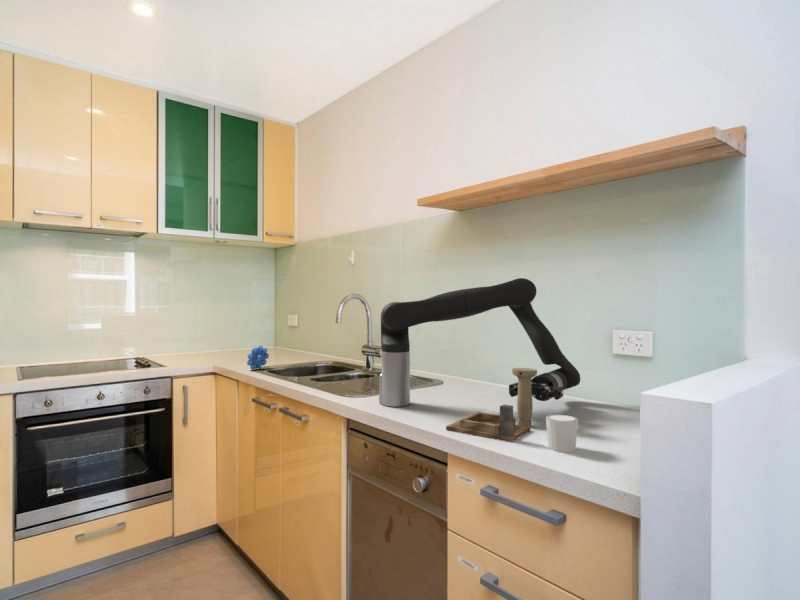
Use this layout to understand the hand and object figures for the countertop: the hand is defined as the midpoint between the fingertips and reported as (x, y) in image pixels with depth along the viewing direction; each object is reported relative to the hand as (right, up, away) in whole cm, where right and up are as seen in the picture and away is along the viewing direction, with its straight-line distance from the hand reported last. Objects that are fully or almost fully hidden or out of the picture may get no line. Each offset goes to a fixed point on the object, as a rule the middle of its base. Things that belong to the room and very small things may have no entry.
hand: (526, 394), depth 124 cm
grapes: (-106, -9, +106) cm, 150 cm away
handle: (-1, -8, -1) cm, 8 cm away
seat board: (-12, -8, -6) cm, 15 cm away
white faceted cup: (+2, -8, -21) cm, 22 cm away
